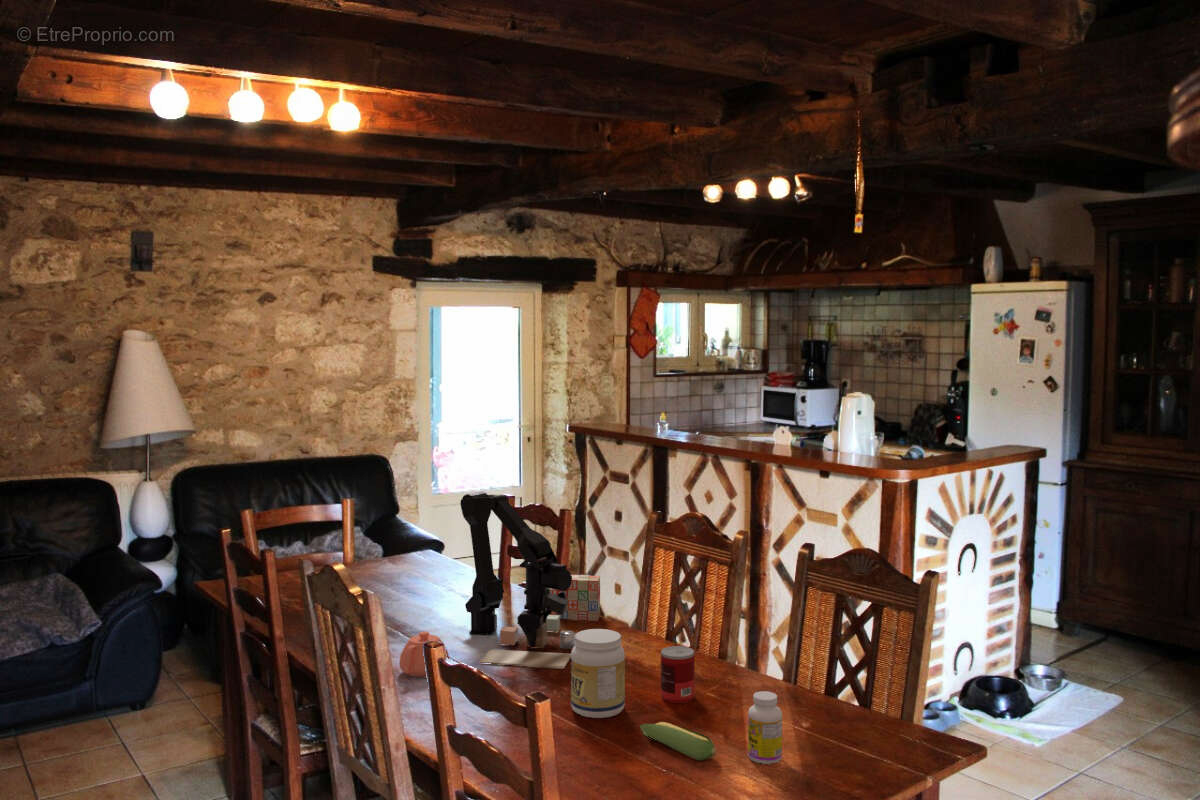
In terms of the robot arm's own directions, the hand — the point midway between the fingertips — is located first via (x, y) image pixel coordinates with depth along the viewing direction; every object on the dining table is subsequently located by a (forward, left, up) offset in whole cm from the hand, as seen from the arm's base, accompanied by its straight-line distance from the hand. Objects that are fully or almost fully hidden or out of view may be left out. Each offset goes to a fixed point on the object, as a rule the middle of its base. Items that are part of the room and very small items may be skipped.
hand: (536, 641), depth 265 cm
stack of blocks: (+2, +28, -1) cm, 28 cm away
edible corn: (+43, -59, -2) cm, 74 cm away
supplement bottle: (+61, -62, -1) cm, 87 cm away
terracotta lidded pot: (-23, -26, -1) cm, 35 cm away
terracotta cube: (-8, +1, -1) cm, 8 cm away
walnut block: (0, 0, -1) cm, 1 cm away
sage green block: (+1, +14, -1) cm, 14 cm away
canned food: (+41, -32, -1) cm, 52 cm away
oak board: (0, -12, -1) cm, 12 cm away
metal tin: (+9, 0, -1) cm, 9 cm away
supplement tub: (+24, -42, -1) cm, 48 cm away
